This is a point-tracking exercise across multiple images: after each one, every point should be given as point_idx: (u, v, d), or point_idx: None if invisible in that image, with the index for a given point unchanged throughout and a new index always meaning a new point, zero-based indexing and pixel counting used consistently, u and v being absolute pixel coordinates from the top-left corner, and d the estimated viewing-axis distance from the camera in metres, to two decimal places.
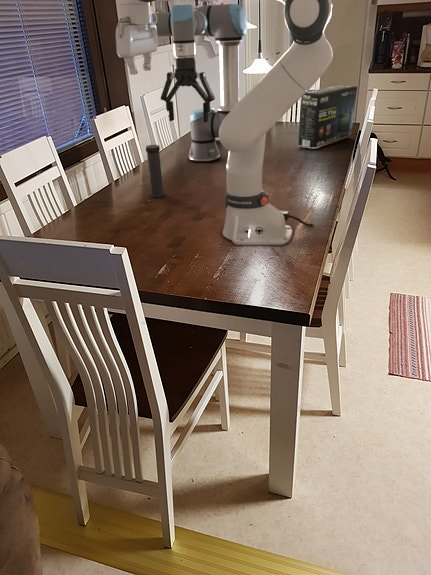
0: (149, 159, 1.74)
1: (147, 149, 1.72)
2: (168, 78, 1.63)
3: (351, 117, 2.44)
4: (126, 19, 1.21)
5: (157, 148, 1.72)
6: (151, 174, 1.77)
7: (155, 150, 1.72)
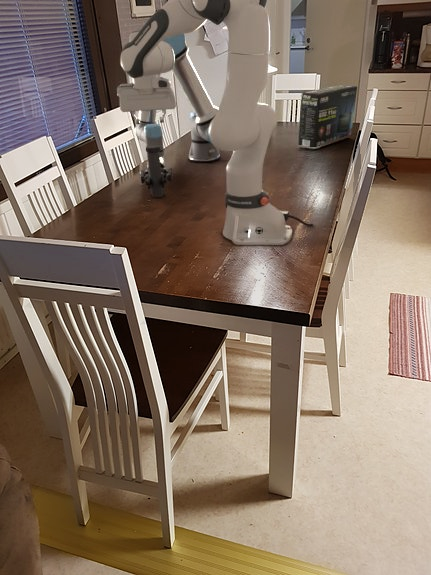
0: (149, 159, 1.74)
1: (147, 149, 1.72)
2: None
3: (351, 117, 2.44)
4: (127, 85, 1.61)
5: (157, 148, 1.72)
6: (151, 174, 1.77)
7: (155, 150, 1.72)
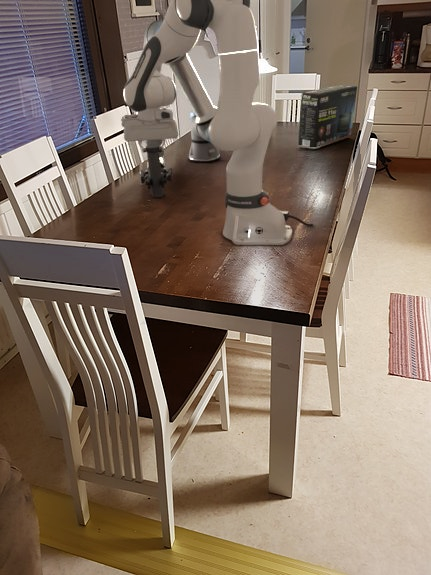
0: (149, 159, 1.74)
1: (147, 149, 1.72)
2: None
3: (351, 117, 2.44)
4: (131, 116, 1.67)
5: (157, 148, 1.72)
6: (151, 174, 1.77)
7: (155, 150, 1.72)
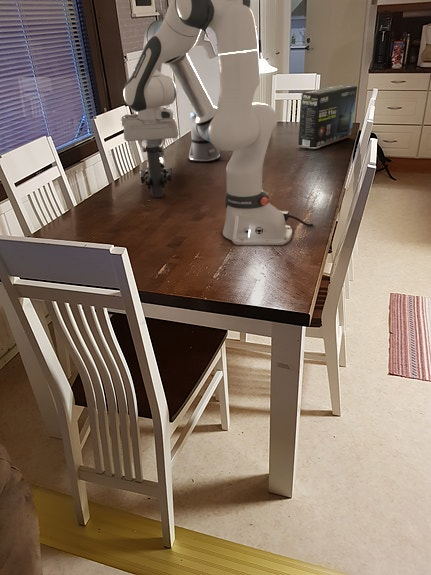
0: (149, 159, 1.74)
1: (153, 149, 1.72)
2: None
3: (351, 117, 2.44)
4: (131, 115, 1.67)
5: None
6: (151, 174, 1.77)
7: None
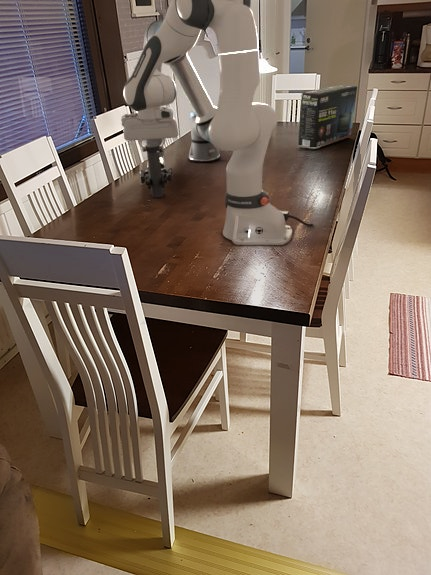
0: (149, 159, 1.74)
1: (158, 147, 1.73)
2: None
3: (351, 117, 2.44)
4: (131, 115, 1.66)
5: None
6: (151, 174, 1.77)
7: None
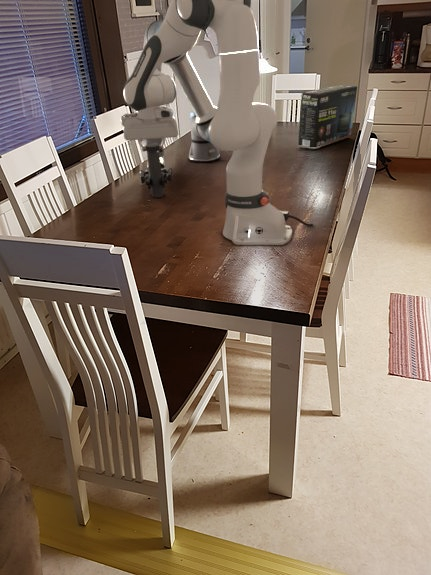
0: (149, 159, 1.74)
1: None
2: None
3: (351, 117, 2.44)
4: (131, 114, 1.66)
5: None
6: (151, 174, 1.77)
7: None
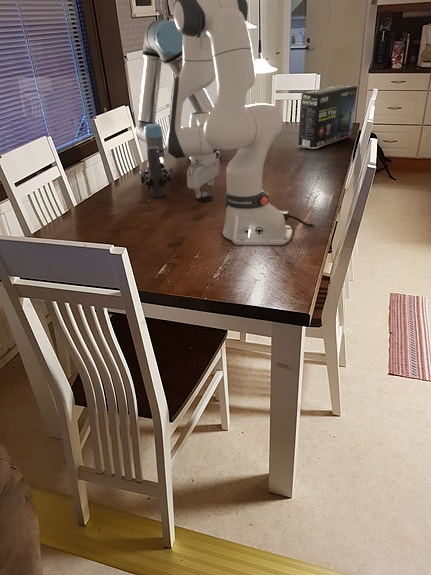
0: (149, 159, 1.74)
1: None
2: None
3: (351, 117, 2.44)
4: (195, 163, 1.65)
5: None
6: (151, 174, 1.77)
7: None
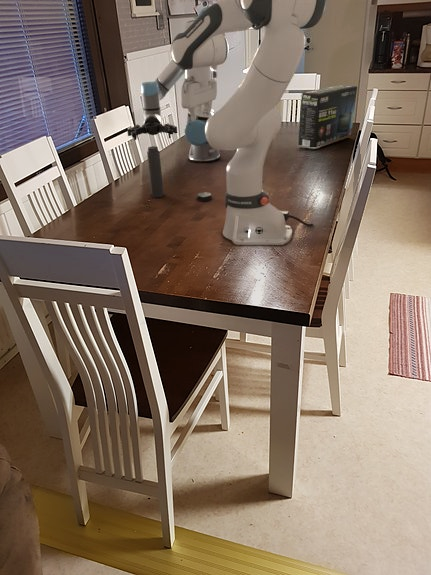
0: (149, 159, 1.74)
1: None
2: None
3: (351, 117, 2.44)
4: (190, 79, 1.51)
5: (197, 196, 1.77)
6: (151, 174, 1.77)
7: None
